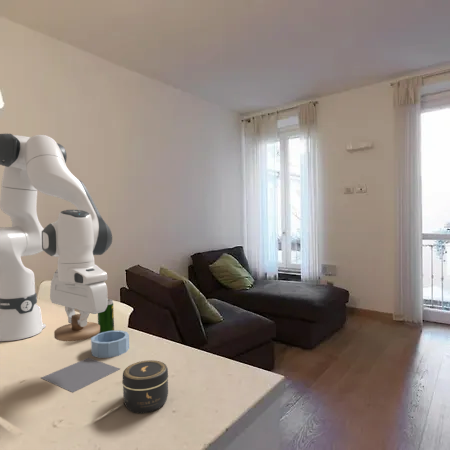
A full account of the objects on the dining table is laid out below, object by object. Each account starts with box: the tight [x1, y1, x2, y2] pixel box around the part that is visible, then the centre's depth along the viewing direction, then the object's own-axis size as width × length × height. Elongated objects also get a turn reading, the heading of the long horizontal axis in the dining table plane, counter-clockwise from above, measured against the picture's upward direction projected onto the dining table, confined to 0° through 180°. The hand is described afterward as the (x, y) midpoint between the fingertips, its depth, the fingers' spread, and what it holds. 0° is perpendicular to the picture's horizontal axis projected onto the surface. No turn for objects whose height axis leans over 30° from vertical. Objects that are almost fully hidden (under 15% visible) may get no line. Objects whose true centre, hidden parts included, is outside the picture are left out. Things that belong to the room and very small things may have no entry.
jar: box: [122, 359, 169, 414], centre depth 76 cm, size 10×10×8 cm
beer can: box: [97, 298, 115, 334], centre depth 121 cm, size 5×5×12 cm
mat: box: [40, 357, 121, 393], centre depth 89 cm, size 14×14×1 cm
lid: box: [53, 313, 100, 342], centre depth 89 cm, size 11×11×5 cm
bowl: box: [90, 330, 130, 359], centre depth 104 cm, size 11×11×5 cm
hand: (77, 324), depth 89 cm, fingers closed on lid, 3 cm apart
